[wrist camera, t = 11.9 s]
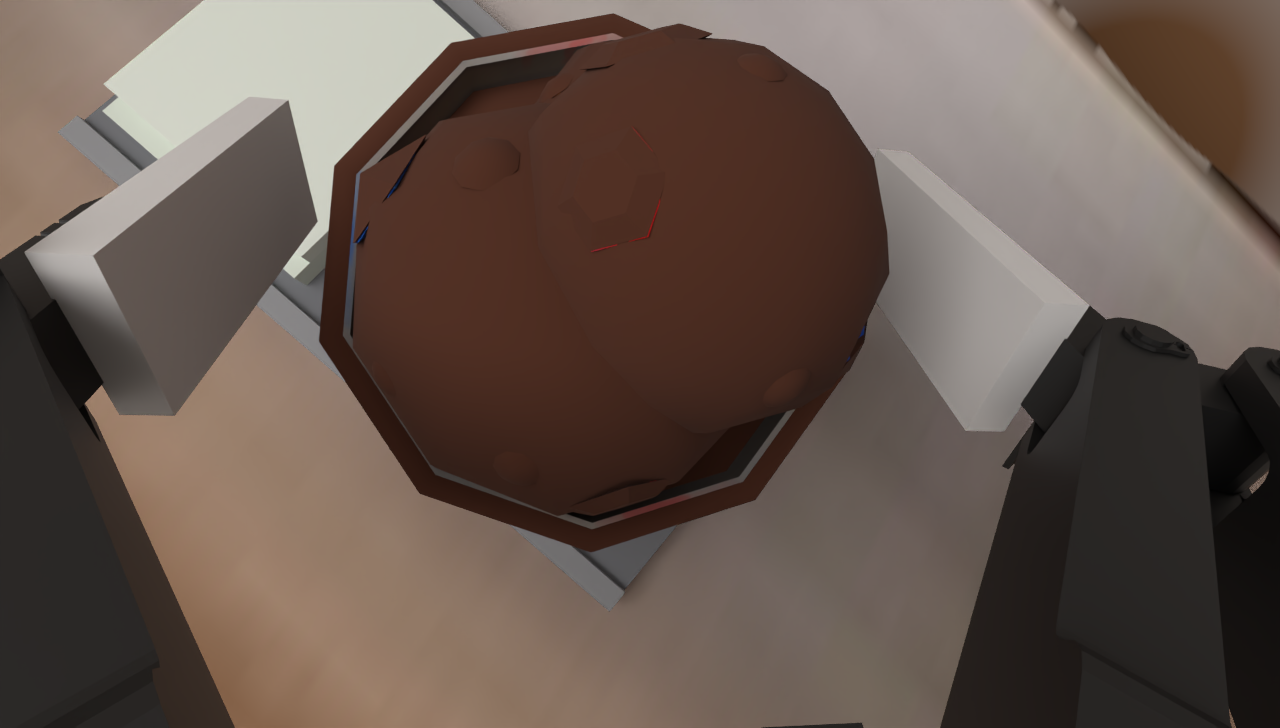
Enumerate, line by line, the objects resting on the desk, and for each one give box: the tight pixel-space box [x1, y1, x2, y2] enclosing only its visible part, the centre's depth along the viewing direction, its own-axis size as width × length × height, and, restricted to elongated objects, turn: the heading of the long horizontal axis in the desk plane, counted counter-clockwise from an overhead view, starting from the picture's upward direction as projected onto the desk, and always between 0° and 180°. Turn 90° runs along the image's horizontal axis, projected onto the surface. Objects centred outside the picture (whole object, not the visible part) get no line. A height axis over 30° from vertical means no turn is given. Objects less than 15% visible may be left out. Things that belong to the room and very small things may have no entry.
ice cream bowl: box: [319, 14, 889, 552], centre depth 14 cm, size 11×11×15 cm
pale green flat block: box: [103, 0, 475, 285], centre depth 20 cm, size 8×10×2 cm
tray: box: [58, 0, 677, 612], centre depth 22 cm, size 24×13×1 cm, turn 49°
